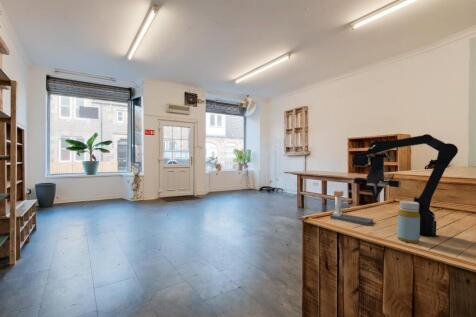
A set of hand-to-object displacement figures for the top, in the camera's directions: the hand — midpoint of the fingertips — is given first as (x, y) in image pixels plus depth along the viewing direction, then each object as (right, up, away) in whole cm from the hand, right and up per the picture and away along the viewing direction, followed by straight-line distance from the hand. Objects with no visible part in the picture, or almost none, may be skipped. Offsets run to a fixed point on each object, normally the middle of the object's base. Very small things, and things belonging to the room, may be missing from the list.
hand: (375, 200), depth 114 cm
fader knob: (-13, -10, +13) cm, 21 cm away
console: (-8, -12, +8) cm, 16 cm away
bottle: (+1, -13, -20) cm, 24 cm away
